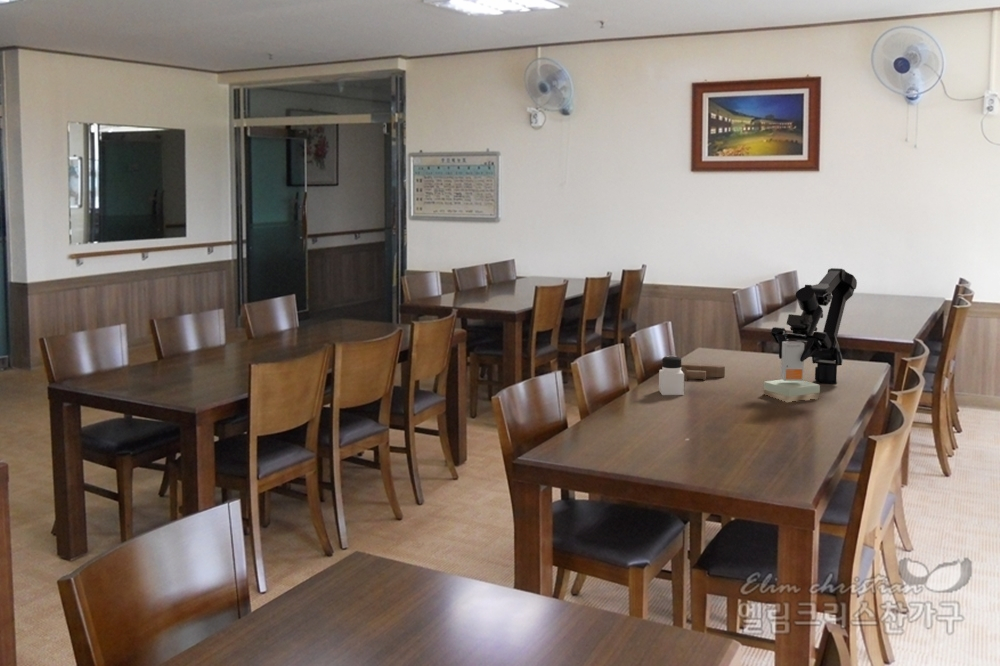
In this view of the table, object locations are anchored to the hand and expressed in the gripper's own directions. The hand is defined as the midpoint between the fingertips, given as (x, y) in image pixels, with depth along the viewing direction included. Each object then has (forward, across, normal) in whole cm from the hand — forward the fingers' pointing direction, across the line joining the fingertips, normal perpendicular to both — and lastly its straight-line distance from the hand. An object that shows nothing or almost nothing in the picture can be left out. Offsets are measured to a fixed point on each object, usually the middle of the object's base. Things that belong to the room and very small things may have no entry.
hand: (790, 359), depth 295 cm
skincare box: (+4, 0, +6) cm, 7 cm away
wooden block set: (+7, -37, +11) cm, 39 cm away
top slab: (+6, 0, +8) cm, 10 cm away
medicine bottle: (+23, -31, -5) cm, 39 cm away
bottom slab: (+8, 0, +10) cm, 13 cm away
